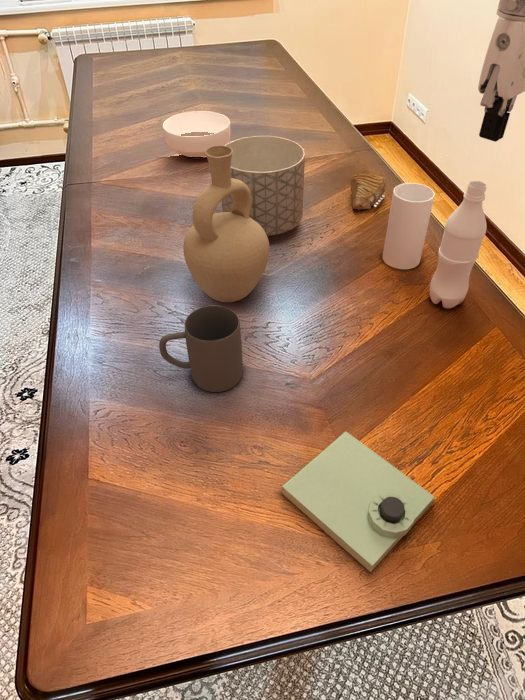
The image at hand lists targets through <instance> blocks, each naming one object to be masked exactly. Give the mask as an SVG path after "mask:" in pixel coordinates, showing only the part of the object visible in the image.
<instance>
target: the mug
mask: <svg viewBox="0 0 525 700" xmlns="http://www.w3.org/2000/svg"><path fill="white" fill-rule="evenodd" d="M183 327H184V329H183V330H184V331H181V332H180V331H179V332H172V333H167V334H164V335H162V336H161V338H160V339H159V342H158V343H159V344H158V348H159V353H160V355H161V357H162V359H163V360H164V361H166V362H167V363H169V364H171V366H175V367H177V368H181V369H187V370H189V369H190V375H191V377H192V380H193V382H194V384H195V385H196V386H197V387H198V388H200V389H201V390H203V391H206V392H210V393H220V392H225V391H229V390H231V389H233V388H234V387H235V386H237V385H238V384H239V383H240V381H241V379H242V377H243V370H244V369H243V367H244V364H243V362H244V361H243V345H242V330H241V329H242V328H241V322H240V318H239V316H238V314H237V313H236V312H235V311H234V310H232V309H231V308H229V307H227V306H223V305H215V304H213V305H212V304H211V305H205V306H202V307H199V308H196V309H194V310H193V311H192V312H190V313H189V314H188V315H187V317H186V318H185V321H184V326H183ZM182 339H185V344H186V352H187V356H188V357H187V358H188V361H183V360H180V359H177V358H175V357H174V356H172V355H170V354H169V353H168V350H167V343H168V342H169V341H173V340H182Z"/></svg>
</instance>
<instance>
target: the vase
mask: <svg viewBox="0 0 525 700" xmlns="http://www.w3.org/2000/svg"><path fill="white" fill-rule="evenodd" d="M205 154H206V156H207V157H206V158H207V161H208V165H209V171H210V179H211V180H210V181H211V184H210V185H208V186H207V187H206V188H204V190H202V191H201V193H200V194H199V195H198V197H197V199H196V200H195V202H194V205H193V208H192V209H193V210H192V224H193V225H191V226H190V227H189V229H188V230H187V232H186V234H185V237H184V239H183V245H182V247H183V250H182V251H183V256H184V261H185V264H186V266H187V269H188V271H189V273H190V275H191V277H192V278H193V281H195V283H196V285H197V286H198V287H199V288H200V289H201V291H203V293H204V294H205V295H207V297H209V298H211V299H212V300H215V301H218V302H221V303H235V302H239V301H240V300H243V299H245V298H246V297H247V296H248V295H249V294H250V293H252V291H253V290H254V289H255V288H256V286H257V284H258V283H259V281H260V280H261V279H262V276H263V274H264V272H265V270H266V267H267V265H268V262H269V257H270V256H269V255H270V241H269V238H268V237H269V236H267V235H266V233H265V231H264V229H263V228H262V227H261V226H260V225H259V224H258V223H257V222H256V221H254V220H253V219H251V218H250V217H249V215H250V211H251V203H252V201H251V192H250V189H249V188H248V186H247V185H246V184H245V183H244V182H242V181H241V180H238V179H234V178H231V158H232V154H233V150H232V149H231V148H230V147H227V146H213V147H210V148H208V149H207V150H206V151H205ZM231 193H233V203H232V209H231V212H223V211H220V212H216V213H215V210H216V209H217V207H218V205H219V204H220V203H222V200H223V199H224V198H225V197H226V196H228V195H229V194H231Z"/></svg>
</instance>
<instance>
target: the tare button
mask: <svg viewBox="0 0 525 700" xmlns="http://www.w3.org/2000/svg"><path fill="white" fill-rule="evenodd" d="M404 510H405V508H404V504H403V503H402V501H401V500H399V499H398V498H396V497H387V498H385V499H384V500H383V501H382V503H381V507H380V514H381V516H382V518H383V519H384V520H386V521H388V522H391V523H395V522H398V521H400V520H401V519H402V516H403V513H404Z"/></svg>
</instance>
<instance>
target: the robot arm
mask: <svg viewBox="0 0 525 700" xmlns="http://www.w3.org/2000/svg"><path fill="white" fill-rule="evenodd" d="M496 16H498V17H497V20H496V23H495V26H494V29H493V32H492V34H491V38H490V41H489V44H488V46H487V50H486V54H485V57H484V61H483V64H482V68H481V71H480V72H481V73H480V76H479V81H478V86H477V87H478V88H477V89H478V92H479V94H482V98H481V101H480V103H479V104H480V107H484V116H483V117H482V121H481V126H480V128H479V129H480V130H479V134H478V136H479V138H482V139H485V140H488V141H490V142H491V141H492V142H499V140H501V139H504V135H505V132H506V129H507V126H508V122H509V119H510V115H511V112H512V111H513V109H514V106H515V103H516V101H517V97H518V96H519V95H520V94H523V93H524V92H525V0H499V1H498V5H497V9H496Z"/></svg>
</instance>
